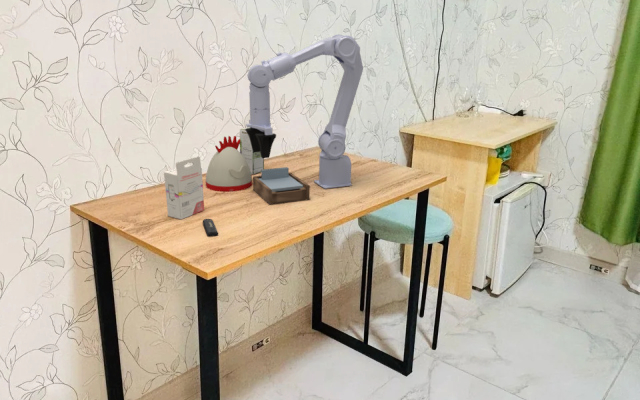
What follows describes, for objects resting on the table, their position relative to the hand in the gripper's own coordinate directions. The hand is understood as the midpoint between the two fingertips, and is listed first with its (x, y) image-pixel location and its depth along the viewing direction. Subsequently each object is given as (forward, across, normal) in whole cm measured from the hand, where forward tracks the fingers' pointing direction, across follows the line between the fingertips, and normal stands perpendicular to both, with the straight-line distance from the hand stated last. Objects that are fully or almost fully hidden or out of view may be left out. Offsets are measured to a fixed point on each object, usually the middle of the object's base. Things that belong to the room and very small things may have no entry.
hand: (261, 154), depth 152 cm
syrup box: (+10, -18, +3) cm, 21 cm away
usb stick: (+11, +26, -22) cm, 36 cm away
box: (+10, +8, +3) cm, 14 cm away
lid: (+7, +8, +3) cm, 11 cm away
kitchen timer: (+10, -7, -8) cm, 15 cm away
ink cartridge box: (+10, +13, -25) cm, 30 cm away
